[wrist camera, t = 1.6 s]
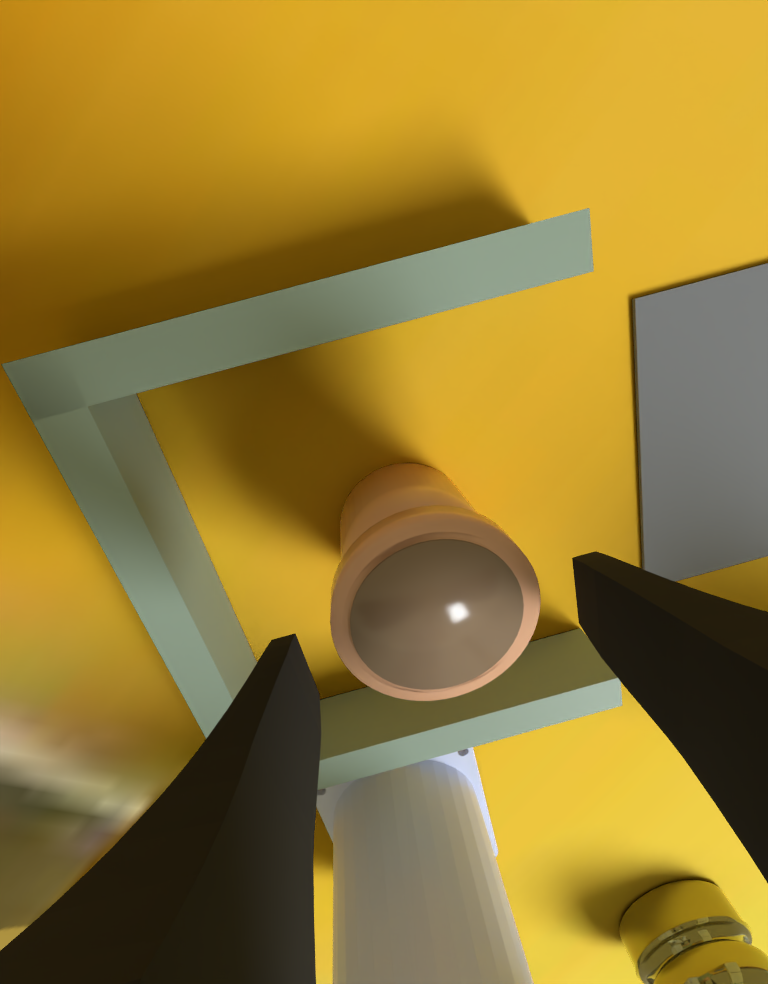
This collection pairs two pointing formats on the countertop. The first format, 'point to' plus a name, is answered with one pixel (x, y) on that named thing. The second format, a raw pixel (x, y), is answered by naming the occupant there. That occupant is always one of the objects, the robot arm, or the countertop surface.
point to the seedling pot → (427, 588)
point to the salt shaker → (690, 937)
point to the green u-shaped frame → (177, 543)
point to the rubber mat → (703, 423)
